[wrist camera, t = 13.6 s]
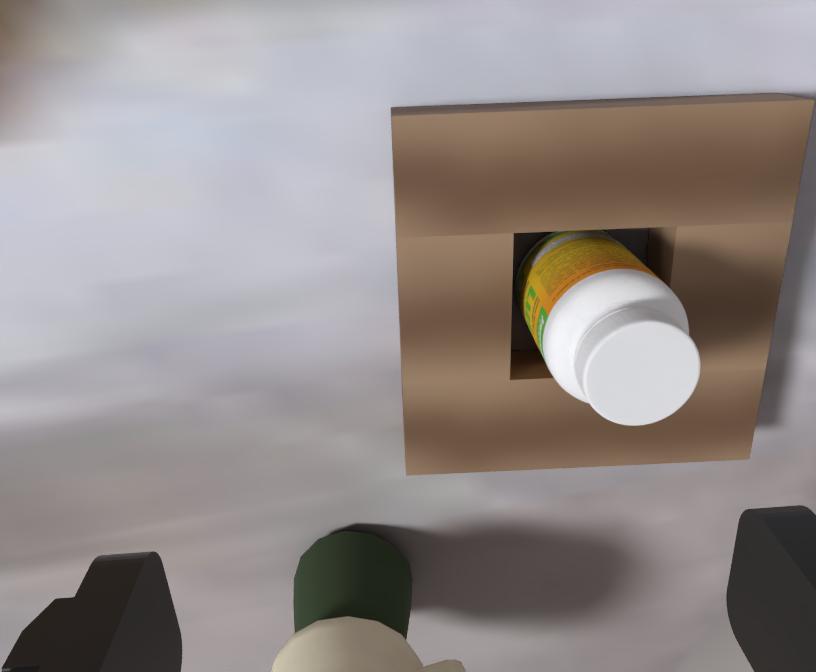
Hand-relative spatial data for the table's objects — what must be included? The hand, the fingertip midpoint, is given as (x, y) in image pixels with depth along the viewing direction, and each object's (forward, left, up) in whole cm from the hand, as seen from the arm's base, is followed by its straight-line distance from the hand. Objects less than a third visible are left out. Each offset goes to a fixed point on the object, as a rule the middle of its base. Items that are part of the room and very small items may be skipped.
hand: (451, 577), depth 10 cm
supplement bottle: (+4, +8, -23) cm, 25 cm away
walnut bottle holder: (+4, +8, -23) cm, 25 cm away
